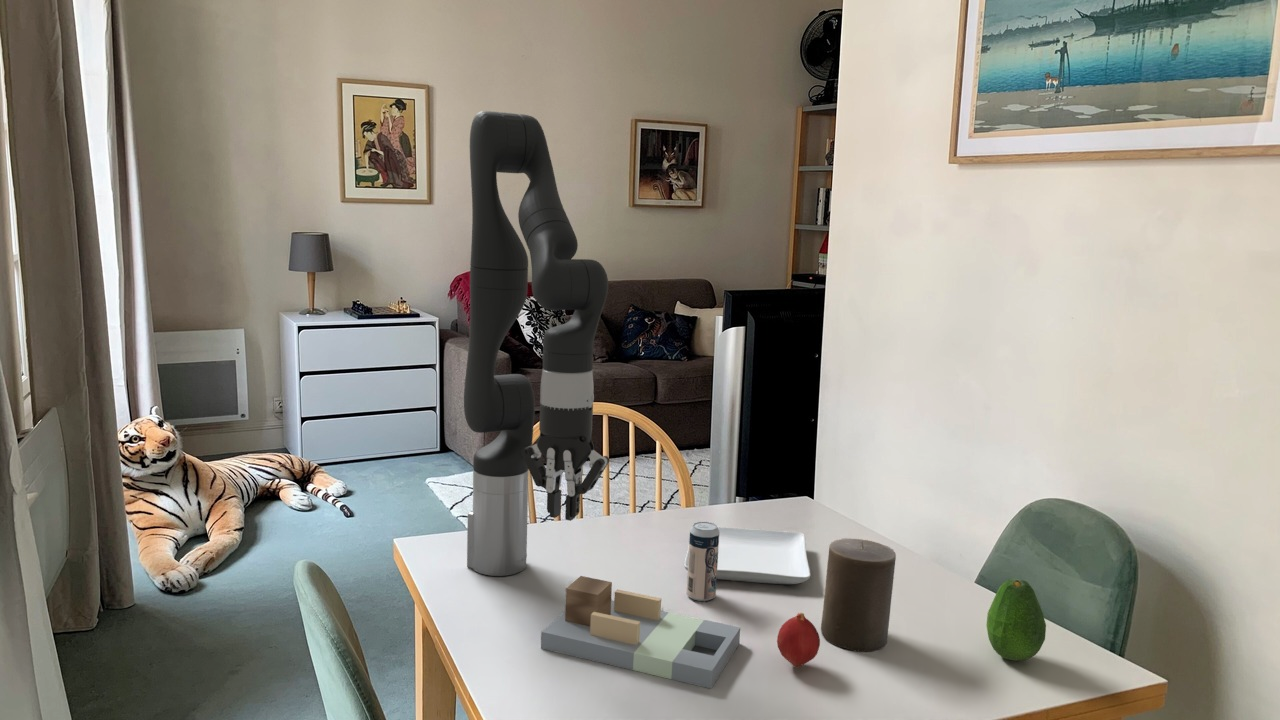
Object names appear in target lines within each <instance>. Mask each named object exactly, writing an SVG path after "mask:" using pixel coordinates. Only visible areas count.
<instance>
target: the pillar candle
mask: <svg viewBox="0 0 1280 720" xmlns="http://www.w3.org/2000/svg"><path fill="white" fill-rule="evenodd" d="M828 545H829V547H828V548H829V549H828V555H827V556H828V557H827V558H828V559H827V568H826V576H825V588H824V597H823V608H822V614H821V624H820V631H821V635H822V637H823V638H824V639H825V640H826V641H828V642H829V643H830V644H832V645H835V646H837V647H839V648H843V649H846V650H849V651H854V652H874V651H877V650H881V649H883V648H885V647H886V645H887V642H888V637H889V636H888V635H889V628H890V627H889V626H890V619H891V618H890V617H891V608H892V607H891V606H892V597H893V589H894V579H895V577H894V575H895V568H896V567H895V566H896V558H897V557H896V556H897V554H896V552H895V551H894V550H895V549H893V548H891V547H890V546H889V545H885V544H882V543H880V542H877V541H873V540H868V539H863V538H862V539H861V538H850V537H849V538H848V537H844V538H840V539H836V540H833V541H831V542H830V544H828Z"/></svg>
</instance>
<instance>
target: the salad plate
mask: <svg viewBox="0 0 1280 720" xmlns="http://www.w3.org/2000/svg"><path fill="white" fill-rule="evenodd" d="M717 527H718V529H719V532H720V533H719V548H718V565H717V580H722V581H723V580H725V581H735V582H747V583H761V584H769V585H770V584H772V585H798V584H801V583H805V582H807V581H808V580H809V579H810V578H811V569H810V563H809V561H808V555H807V549H806V548H807V547H806V545H807V543H806V536H805V534H804V533H803V532H797V531H786V530H785V531H784V530H773V529H772V530H771V529H761V528H760V529H759V528H758V529H757V528H745V527H744V528H743V527H729V526H728V527H726V526H722V527H721V526H717ZM691 528H692V526H691ZM691 528H690V529H691ZM689 539H690V537H689ZM688 558H689V545H688V547H687V552H686V555H685V559H684V563H683V565H684V568H685V570H686V571H687V572H688Z"/></svg>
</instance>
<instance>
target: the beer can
mask: <svg viewBox="0 0 1280 720" xmlns="http://www.w3.org/2000/svg"><path fill="white" fill-rule="evenodd" d="M691 527H692V528H690V529H689V538H690V539H689V540H688V546H689V558H688V571H687V576H686V577H687V581H686V595H687V596H688V597H689V598H691V599H692V600H693V601H697V602H708V601H710V600H712V599H714V598H716V597H717V580H718V579H717V565H718V548H719V533H720V532H719V529H718V527H719V526H718V525H717V524H715V523H714V522H709V521H697V522H694V523H693V524H692V526H691Z"/></svg>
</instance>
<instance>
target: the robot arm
mask: <svg viewBox="0 0 1280 720" xmlns="http://www.w3.org/2000/svg"><path fill="white" fill-rule="evenodd" d="M469 164H470V165H469V166H470V183H471V185H470V186H471V200H472V201H471V203H472V204H471V205H472V206H471V207H472V210H471V211H472V214H471V215H472V217H471V218H472V219H471V222H472V224H471V225H472V226H471V247H470V250H471V251H470V262H469V263H470V265H469V266H470V268H469V301H470V302H469V303H470V305H469V306H470V307H469V314H470V315H469V337H468V339H469V341H468V351H467V360H466V361H467V362H466V369H465V381H464V389H463V390H464V391H463V409H464V410H463V411H464V418H465V422H466V423H467V426H468V427H469V429H470V430H471V431H473V432H475V433H477V434H479V433H480V434H481V433H484V434H485V433H490V432H491V433H494V432H500V433H499V434H498V435H497V437H496V438H495V439H493V440H492V441H491V442H490V443H488V444H486V445H484V446H482V447H481V448H479V449H478V450H477V451H476V452H475V453H474V455H473V462H472V464H473V465H472V468H473V469H472V470H473V471H472V473H473V474H472V510H471V511H470V512H468V513H467V530H466V531H467V532H466V533H467V534H466V535H467V537H466V538H467V539H466V540H467V542H466V543H467V544H466V546H467V547H466V567H467V568H471V569H473V570H474V571H475V572H477V573H478V574H482V575H484V576H493V577H494V576H495V577H502V576H503V577H504V576H510V575H511V576H512V575H516V574H519V573H520V572H522V571H524V570H525V569H526V567H527V556H528V553H527V547H528V546H527V545H528V513H529V512H528V511H529V510H528V508H529V473H530V475H531V477H532V480H533V481H534V484H535V486H537V487H541V488H543V489H545V490H546V492H547V494H546V495H547V496H546V510H547V513H549V517H550V518H553V519H556V518H558V517H559V516H560V515H561V513H562V489H560V488H561V485H562V477H563V473H564V479H565V482H566V491H567V493H566V494H567V495H565V510H564V511H565V513H564V515H565V517H564V518H565V521H573V520H575V518H576V517H577V516H578V515H579V513H580V510H581V509H580V508H581V507H580V506H581V505H580V504H581V495H585V494H586V493H588V492H589V491H592V490H593V489H594V487H595V486H596V484H597V482H598V481H599V479H600V478H601V476H602V474H603V473H604V470H606V467H608V465H609V463H610V458H609V457H608V456H607V455H603V456H602V455H601V454H600V453H599V452H597V451H596V450H595V445H594V443H593V441H592V434H593V416H594V415H593V414H594V400H595V395H594V375H593V374H594V373H593V364H594V361H593V360H594V342H595V341H594V340H595V337H596V335H597V331H598V327H599V323H600V319H601V315H602V314H603V313H602V312H603V310H604V307H605V304H606V300H607V296H608V293H609V278H608V273H607V271H606V269H605V268H604V266H603V264H601V262H598V261H597V260H594V259H591V258H590V259H588V258H587V259H583V258H582V259H581V258H577V259H576V258H575V259H574V257H575V255H576V254H577V251H578V246H579V245H578V240H577V236H576V234H575V231H574V228H573V226H572V225H571V222H570V219H569V217H568V215H567V213H566V211H565V209H564V206H563V204H562V201H561V197H560V194H559V190H558V187H557V181H556V177H555V172H554V167H553V163H552V160H551V154H550V151H549V147H548V142H547V139H546V135H545V132H544V129H543V127H542V124H541V123H540V122H539V121H538V120H537V118H535V117H534V116H532V115H529V114H524V113H512V112H503V111H502V112H501V111H500V112H499V111H490V110H484V111H482V110H481V111H478V112H477V113H476V114H475V115H474V117H473V119H472V122H471V125H470V134H469ZM497 173H503V174H525V175H526V176H527V177H528V179H529V184H528V187H527V188H526V191H525V193H524V195H523V197H522V199H521V201H520V203H519V208H518V214H517V215H518V224H519V228H520V232H521V234H522V236H523V239H524V241H525V244H526V246H527V248H528V251H529V257H530V264H531V292H532V296H533V298H534V300H535V301H536V303H537V304H539V306H540V307H542V308H544V309H545V310H549V311H566V310H567V311H573V310H574V312H573V314H572V316H571V317H570V319H569V321H567V322H566V323H563V324H560V325H556V326H552V327H550V328H548V329H546V331H545V332H544V336H543V342H542V343H543V344H542V372H541V377H540V379H541V380H540V388H539V389H540V390H539V391H540V393H539V436H538V438H537V441H536V443H534V444H533V439H534V438H533V437H534V423H535V413H536V397H535V392H534V388H533V384H532V383H531V381H530V379H529V378H528V377H526V375H523V374H519V373H509V374H497V375H495V371H496V363H497V359H498V354H499V351H500V348H501V346H502V344H503V342H504V340H505V337H506V336H507V335H508V332H509V331H510V329H511V328H512V326H513V325H514V324H515V321H517V318H518V317H519V314H520V313H521V311H522V309H523V307H524V305H525V304H526V300H527V296H528V287H529V286H528V285H529V284H528V279H529V257H528V254H527V251H526V248H525V245H524V244H523V242H522V240H521V238H520V236H519V235H518V233H517V232H516V231H517V230H515V228H514V226H513V224H512V223H511V220H510V219H509V218H508V216H507V214H506V212H505V209H504V207H503V204H502V202H501V199H500V194H499V189H498V183H497V182H498V177H497ZM542 457H543V458H544V460H545V462H546V466H545V464H544V461H543V459H542ZM588 460H589V463H588V464H589V468H590V469H589V471H588V473H587V474H586V476H585V477H584V480H583V478H582V477H583V475H584V468H583V467H584V465H585V463H586V462H587V461H588Z"/></svg>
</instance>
